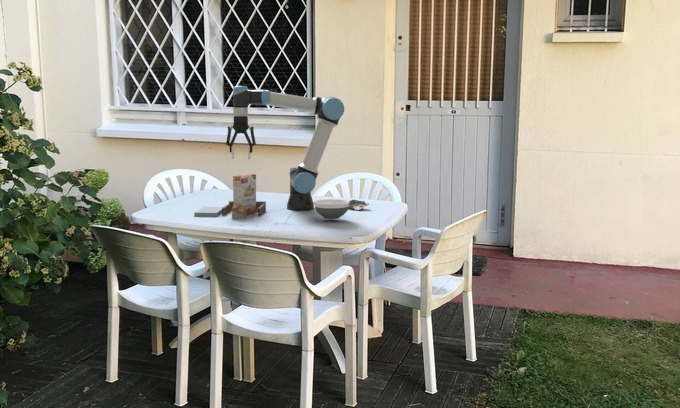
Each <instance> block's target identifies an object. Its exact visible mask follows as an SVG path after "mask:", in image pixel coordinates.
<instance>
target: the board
mask: <svg viewBox="0 0 680 408" xmlns="http://www.w3.org/2000/svg"><path fill="white" fill-rule="evenodd" d="M223 207H224V206H202V207H201V208H199V209H198V210H196V211H195V212H194V217H208V218H209V217H210V218H211V217H220V216H221V215H222V208H223Z"/></svg>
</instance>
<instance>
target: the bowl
mask: <svg viewBox="0 0 680 408" xmlns="http://www.w3.org/2000/svg"><path fill="white" fill-rule="evenodd" d="M349 201H350V200H346V199H334V198H333V199H319V200H314V201H313V203H314V210H315V212H316V213H317V214H318V215H319V216H321V217H323V219H326V220H334V219H335V220H336V219H340V218H341V217H342V216H344V215H346V213H347V212H348V210H349V208H348V206H349V203H350V202H349Z"/></svg>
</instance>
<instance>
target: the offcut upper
mask: <svg viewBox="0 0 680 408" xmlns="http://www.w3.org/2000/svg"><path fill="white" fill-rule="evenodd" d="M245 212H247V206H238V205H236V206H234V207H232V210H231V214H232V213H242V214H244V213H245Z"/></svg>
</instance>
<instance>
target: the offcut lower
mask: <svg viewBox="0 0 680 408" xmlns="http://www.w3.org/2000/svg"><path fill="white" fill-rule="evenodd" d="M246 217H247V214H246V212H245V213H244V214H242V213H232V212H231V219H233V220H234V219H235V220H238V219H239V220H240V219H241V220H244V219H245V218H246Z"/></svg>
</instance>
